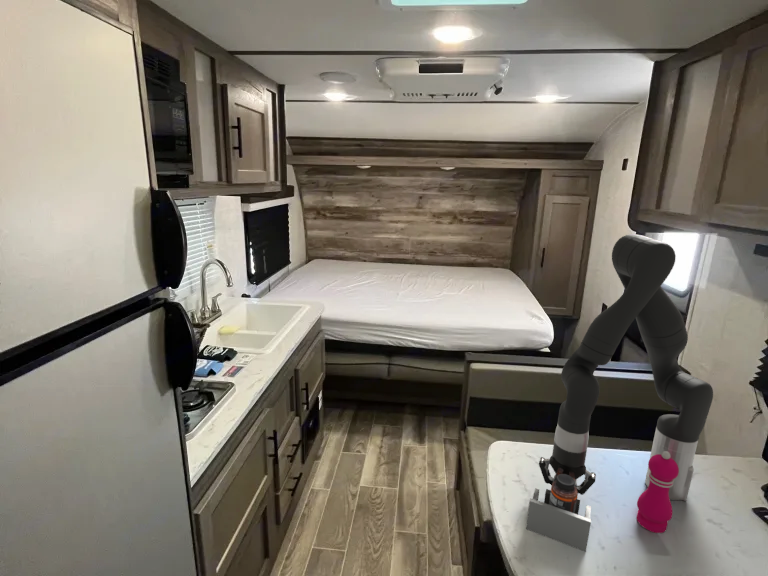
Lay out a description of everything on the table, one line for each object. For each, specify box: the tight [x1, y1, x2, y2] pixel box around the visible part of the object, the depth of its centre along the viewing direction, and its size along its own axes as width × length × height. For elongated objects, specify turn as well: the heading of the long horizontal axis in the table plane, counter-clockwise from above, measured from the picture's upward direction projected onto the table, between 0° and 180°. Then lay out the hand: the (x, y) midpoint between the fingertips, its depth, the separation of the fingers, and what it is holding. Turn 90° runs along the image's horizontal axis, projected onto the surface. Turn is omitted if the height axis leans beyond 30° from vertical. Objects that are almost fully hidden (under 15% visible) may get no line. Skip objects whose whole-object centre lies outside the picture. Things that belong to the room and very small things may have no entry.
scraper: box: [543, 488, 581, 515], centre depth 110 cm, size 8×8×6 cm
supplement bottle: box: [549, 474, 579, 514], centre depth 104 cm, size 6×6×11 cm
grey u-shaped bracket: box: [525, 488, 592, 552], centre depth 102 cm, size 13×11×8 cm
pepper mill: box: [636, 451, 679, 534], centre depth 102 cm, size 7×7×20 cm
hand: (562, 500), depth 110 cm, fingers closed on scraper, 3 cm apart
